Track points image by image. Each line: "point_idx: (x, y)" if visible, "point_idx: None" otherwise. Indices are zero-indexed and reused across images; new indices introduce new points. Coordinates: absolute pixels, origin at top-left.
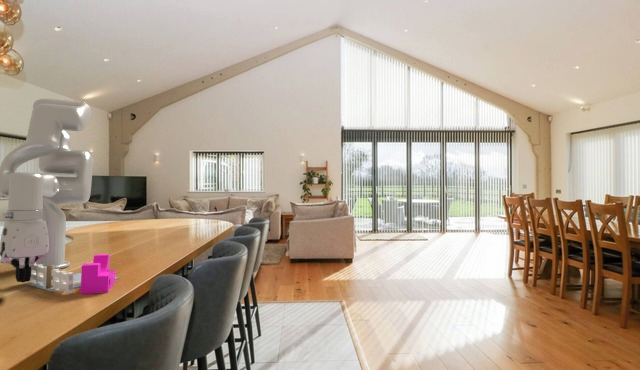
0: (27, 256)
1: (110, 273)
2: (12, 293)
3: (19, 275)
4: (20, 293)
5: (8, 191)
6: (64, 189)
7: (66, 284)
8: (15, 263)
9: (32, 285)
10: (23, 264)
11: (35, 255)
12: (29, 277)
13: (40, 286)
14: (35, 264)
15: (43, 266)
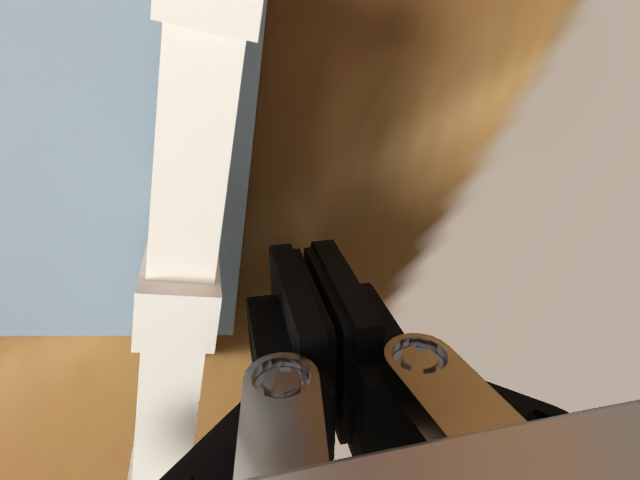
0: (503, 426)
1: None
2: (480, 85)
3: (379, 302)
4: (462, 10)
5: None
6: None
7: None
8: (519, 407)
9: (245, 210)
10: (411, 376)
11: (301, 468)
12: (282, 260)
13: (246, 57)
14: (145, 477)
15: (150, 237)
